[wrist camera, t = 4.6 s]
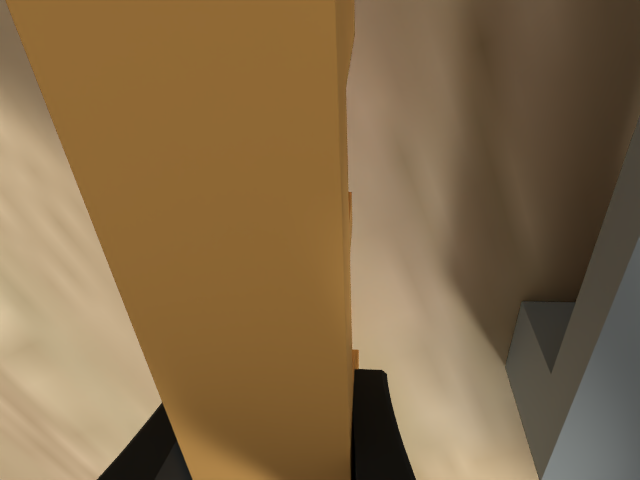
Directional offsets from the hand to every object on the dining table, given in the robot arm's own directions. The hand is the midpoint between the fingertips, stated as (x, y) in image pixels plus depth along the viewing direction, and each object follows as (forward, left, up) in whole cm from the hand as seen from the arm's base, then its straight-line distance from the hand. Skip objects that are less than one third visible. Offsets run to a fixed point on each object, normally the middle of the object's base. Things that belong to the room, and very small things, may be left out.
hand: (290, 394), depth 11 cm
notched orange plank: (0, -3, -3) cm, 4 cm away
